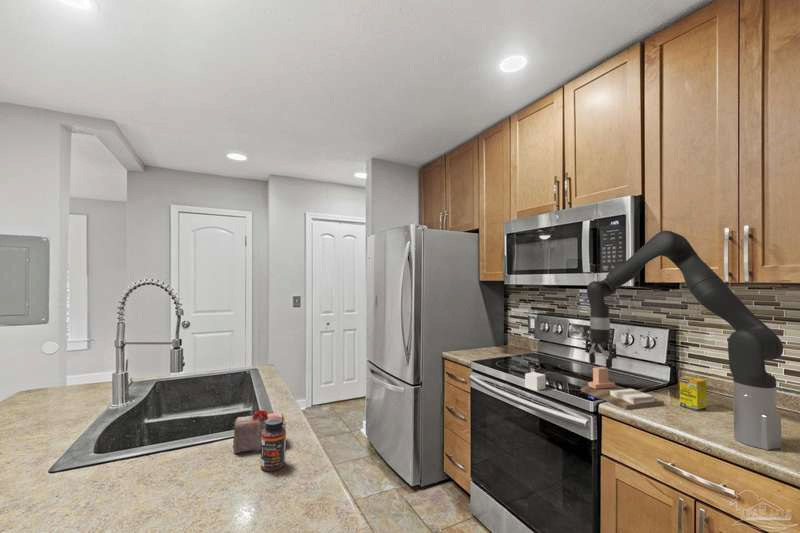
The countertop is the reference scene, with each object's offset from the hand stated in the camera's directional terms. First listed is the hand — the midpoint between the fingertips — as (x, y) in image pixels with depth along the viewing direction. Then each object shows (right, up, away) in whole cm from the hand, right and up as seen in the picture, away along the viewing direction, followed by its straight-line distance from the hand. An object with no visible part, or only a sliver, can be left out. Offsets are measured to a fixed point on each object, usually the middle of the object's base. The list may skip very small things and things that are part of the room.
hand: (600, 365), depth 157 cm
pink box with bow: (-125, -9, -53) cm, 136 cm away
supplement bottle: (-118, -8, -64) cm, 134 cm away
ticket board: (+3, -10, -9) cm, 14 cm away
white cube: (-27, -11, +3) cm, 29 cm away
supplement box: (+24, -11, -20) cm, 33 cm away
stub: (0, -9, 0) cm, 9 cm away
